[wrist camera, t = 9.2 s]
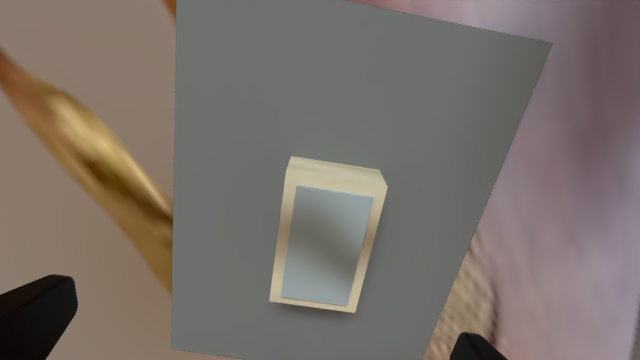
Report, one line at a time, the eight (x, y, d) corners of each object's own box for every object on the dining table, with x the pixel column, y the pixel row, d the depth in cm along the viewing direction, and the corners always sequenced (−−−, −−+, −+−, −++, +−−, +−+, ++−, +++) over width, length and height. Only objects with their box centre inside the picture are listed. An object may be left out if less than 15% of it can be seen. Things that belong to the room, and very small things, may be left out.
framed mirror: (351, 283, 21) (355, 315, 18) (275, 273, 21) (268, 303, 18) (379, 170, 18) (388, 188, 15) (291, 155, 18) (285, 172, 15)
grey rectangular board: (546, 43, 16) (552, 43, 15) (410, 377, 25) (411, 383, 24) (181, -32, 15) (176, -35, 14) (174, 343, 24) (171, 349, 23)
